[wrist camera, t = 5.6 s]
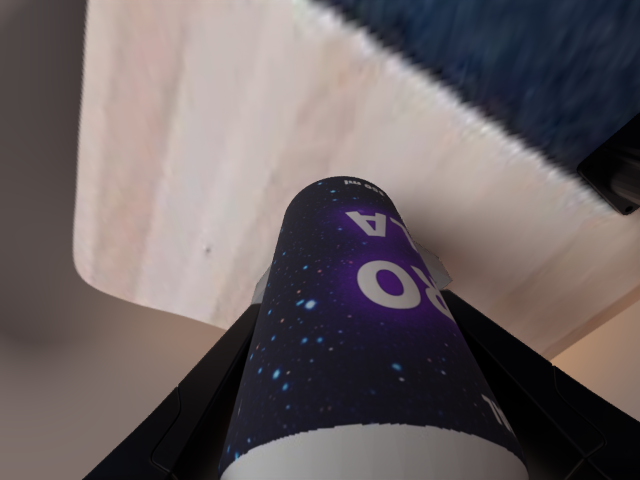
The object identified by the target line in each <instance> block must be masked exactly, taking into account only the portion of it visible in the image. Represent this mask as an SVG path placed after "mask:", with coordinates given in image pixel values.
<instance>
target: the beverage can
mask: <svg viewBox="0 0 640 480" xmlns="http://www.w3.org/2000/svg"><path fill="white" fill-rule="evenodd" d="M218 480H529V477H528V467H527V461H526V456H525V454H524V452H523V450H522V448H521V446H520V444H519V442H518V440H517V438H516V436H515V434H514V433H513V431H512V429H511V427H510V425H509V423H508V421H507V419H506V417H505V415H504V413H503V412H502V410H501V408H500V406H499V404H498V402H497V400H496V398H495V396H494V394H493V393H492V391H491V389H490V387H489V385H488V383H487V381H486V379H485V377H484V375H483V373H482V372H481V370H480V368H479V366H478V364H477V362H476V360H475V358H474V356H473V354H472V353H471V351H470V349H469V347H468V345H467V343H466V341H465V339H464V337H463V335H462V333H461V332H460V330H459V328H458V326H457V324H456V322H455V320H454V318H453V316H452V314H451V313H450V311H449V309H448V307H447V305H446V303H445V301H444V299H443V297H442V295H441V293H440V292H439V290H438V288H437V286H436V284H435V282H434V280H433V278H432V276H431V274H430V272H429V271H428V269H427V267H426V265H425V263H424V261H423V259H422V257H421V255H420V253H419V252H418V250H417V248H416V246H415V244H414V242H413V240H412V238H411V236H410V234H409V232H408V231H407V229H406V227H405V225H404V223H403V221H402V219H401V217H400V215H399V213H398V212H397V210H396V208H395V206H394V204H393V202H392V201H391V199H390V198H389V197H388V195H387V194H386V193H385V192H384V191H383V190H381V189H380V188H379V187H377V186H376V185H374V184H372V183H370V182H368V181H366V180H363V179H360V178H355V177H348V176H337V177H330V178H326V179H322V180H319V181H317V182H314V183H312V184H311V185H309V186H307V187H306V188H304V189H303V190H302V191H301V192H299V193H298V194H297V195H296V196H295V197H294V199H293V200H292V201H291V203H290V204H289V206H288V208H287V210H286V212H285V215H284V219H283V223H282V227H281V230H280V234H279V238H278V242H277V246H276V249H275V253H274V257H273V261H272V265H271V269H270V272H269V276H268V280H267V284H266V288H265V291H264V295H263V299H262V303H261V307H260V311H259V314H258V318H257V322H256V326H255V330H254V333H253V337H252V341H251V345H250V349H249V353H248V356H247V360H246V364H245V368H244V372H243V375H242V379H241V383H240V387H239V391H238V395H237V398H236V402H235V406H234V410H233V414H232V417H231V421H230V425H229V429H228V433H227V437H226V440H225V444H224V448H223V452H222V456H221V459H220V463H219V467H218Z"/></svg>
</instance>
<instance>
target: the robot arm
mask: <svg viewBox="0 0 640 480" xmlns="http://www.w3.org/2000/svg"><path fill="white" fill-rule="evenodd" d="M587 166H588V168H587V169H586V167H587ZM577 171H578V173H579V174H580V175H581V176H582V177H583V178H584V179H585V180H586V181H587V182H588V183H589V184H590V185H591V186H592V187H593V188H594V189H595V190H596V191H597V192H598V193H599V194H600V195H601V196H602V197H603V198H604V199H605V200H606V201H607V202H608V203H609V204H610V205H611V206H612V207H613V208H614V209H615V210H616V211H617V212H619V213H621V214H623V215H628V214H631V213H632V212H634V211H635V210H637V209H638V208H639V207H640V113H639V114H637V115H636V116H635V117H634V118H633V119H632V120H630V121H629V122H628V123H627V124H626V125H625V126H623V127H622V128H621V129H620V130H619V131H617V132H616V133H615V134H614V135H613V136H612V137H610V138H609V139H608V140H607V141H606V142H605V143H603V144H602V145H601V146H600V147H599V148H597V149H596V150H595V151H594V152H593V153H592V154H590V155H589V156H588V157H587V158H586V159H585V160H583V161H582V162H581V163H580V164H579V165H578V167H577ZM439 292H440V293H441V295H442V297H443V299H444V301H445V303H446V305H447V307H448V309H449V311H450V313H451V314H452V316H453V318H454V320H455V322H456V324H457V326H458V328H459V330H460V332H461V333H462V335H463V337H464V339H465V341H466V343H467V345H468V347H469V349H470V351H471V353H472V354H473V356H474V358H475V360H476V362H477V364H478V366H479V368H480V370H481V372H482V373H483V375H484V377H485V379H486V381H487V383H488V385H489V387H490V389H491V391H492V393H493V394H494V396H495V398H496V400H497V402H498V404H499V406H500V408H501V410H502V412H503V413H504V415H505V417H506V419H507V421H508V423H509V425H510V427H511V429H512V431H513V433H514V434H515V436H516V438H517V440H518V442H519V444H520V446H521V448H522V450H523V452H524V454H525V456H526V461H527V467H528V477H529V480H640V422H639V421H637V420H636V419H634V418H632V417H631V416H629V415H628V414H626V413H625V412H623V411H621V410H620V409H618V408H617V407H615V406H613V405H612V404H610V403H609V402H607V401H606V400H604V399H603V398H601V397H600V396H598V395H597V394H595V393H593V392H592V391H591V390H589V389H587V388H586V387H585V386H583V385H582V384H580V383H579V382H577V381H576V380H575V379H573V378H572V377H570V376H569V375H567V374H566V373H565V372H563V371H562V370H560V369H559V368H558V367H556V366H552V363H551V362H549V361H548V360H546V359H545V358H544V357H542V356H541V355H539V354H538V353H537V352H535V351H534V350H532V349H531V348H530V347H528V346H527V345H525V344H524V343H523V342H521V341H520V340H518V339H517V338H516V337H514V336H513V335H511V334H510V333H509V332H507V331H506V330H505V329H503V328H502V327H500V326H499V325H498V324H496V323H495V322H493V321H492V320H491V319H489V318H488V317H486V316H485V315H484V314H482V313H481V312H479V311H478V310H477V309H475V308H474V307H472V306H471V305H470V304H468V303H467V302H465V301H464V300H463V299H461V298H460V297H458V296H457V295H456V294H454V293H453V292H451V291H450V290H448V289H442V290H439ZM260 307H261V303H253V304H251V305H250V306H249V307H248V309H247V310H246V311H245V312H244V313H243V314H242V315H241V316H240V317H239V318H238V320H237V321H236V322H235V323H234V324H233V325H232V326H231V327H230V328H229V329H228V331H227V332H226V333H225V334H224V335H223V336H222V337H221V338H220V340H218V342H217V343H216V344H215V345H214V346H213V347H212V348H211V349H210V350H209V351H208V353H207V354H206V355H205V356H204V357H203V358H202V359H201V360H200V361H199V362H198V364H197V365H196V366H195V367H194V368H193V369H192V370H191V371H190V372H189V373H188V374H187V376H186V377H185V378H184V379H183V380H182V381H181V382H180V383H179V384H178V387H175V388H174V390H173V391H172V392H171V393H170V394H169V395H168V396H167V397H166V398H165V399H164V400H163V401H162V403H161V404H160V405H159V406H158V407H157V408H156V409H155V410H154V411H153V412H152V413H151V414H150V415H149V416H148V417H147V418H146V419H145V420H144V421H143V422H142V423H141V424H140V425H139V426H138V427H137V428H136V429H135V430H134V431H133V432H132V433H131V434H130V435H129V436H128V437H127V438H126V439H124V440H123V441H122V442H121V443H120V444H119V445H118V446H117V447H116V448H115V449H114V450H113V451H112V452H111V453H110V454H109V455H108V456H107V457H105V459H104V460H102V461H101V462H100V463H99V464H98V465H97V466H96V467H95V468H94V469H93V470H92V471H91V472H90V473H89V474H88V475H87V476H85V477H84V478H83V479H82V480H218V467H219V463H220V459H221V456H222V452H223V448H224V444H225V440H226V437H227V433H228V429H229V425H230V421H231V417H232V414H233V410H234V406H235V402H236V398H237V395H238V391H239V387H240V383H241V379H242V375H243V372H244V368H245V364H246V360H247V356H248V353H249V349H250V345H251V341H252V337H253V333H254V330H255V326H256V322H257V318H258V314H259V311H260Z"/></svg>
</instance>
